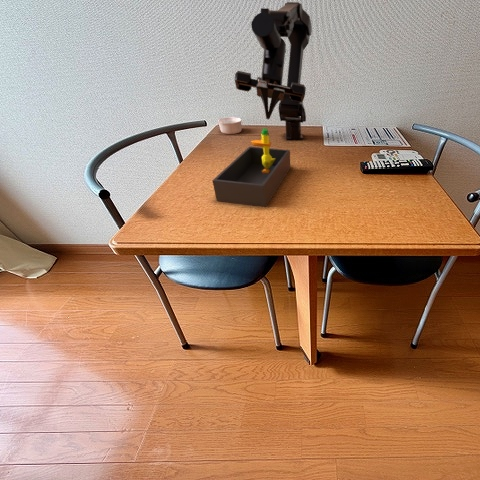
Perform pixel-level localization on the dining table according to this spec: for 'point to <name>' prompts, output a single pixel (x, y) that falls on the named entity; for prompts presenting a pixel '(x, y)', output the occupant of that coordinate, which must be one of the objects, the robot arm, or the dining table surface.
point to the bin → (251, 177)
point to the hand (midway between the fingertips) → (267, 118)
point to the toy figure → (265, 150)
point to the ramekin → (230, 125)
